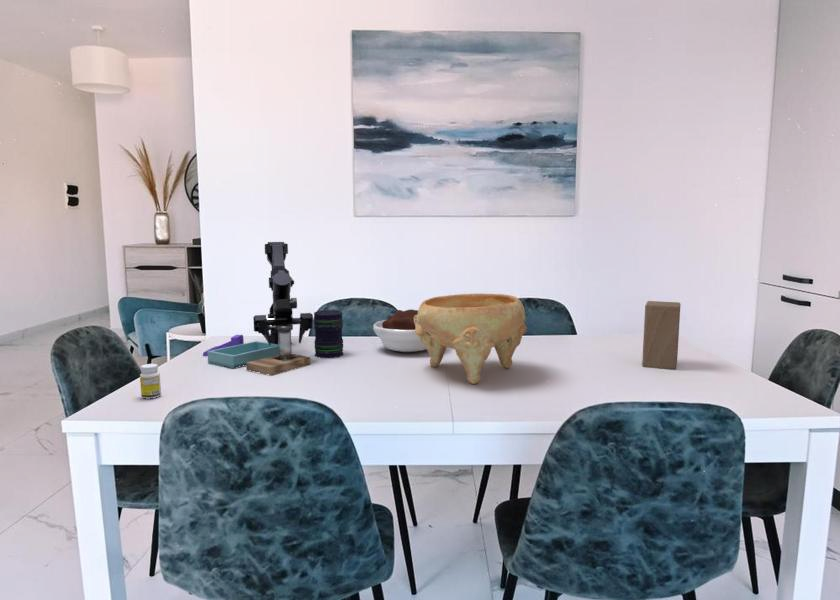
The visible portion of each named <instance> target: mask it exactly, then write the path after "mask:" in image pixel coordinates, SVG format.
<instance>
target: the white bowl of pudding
mask: <svg viewBox="0 0 840 600" xmlns="http://www.w3.org/2000/svg"><path fill="white" fill-rule="evenodd" d="M415 315H418V309H406V310H401V309H398V310H397V311H396V312H395V313H394V314H393V315H391V316H388V317H387V319H383V320H380V321H376V322H375V323H373V331H374V333H375V335H376V336H377V337H378V338H379V339H380V340H381V344H382V345H383V347H384V348H386V349H388V350H390V351H395V352H400V353H416V352H421V351H425V350H427V349H426V347H425V345H423V344H422V343H421V340H420V338H419V336H418V335H417V334H416V332H415V324H414V316H415Z"/></svg>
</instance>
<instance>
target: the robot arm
mask: <svg viewBox="0 0 840 600" xmlns="http://www.w3.org/2000/svg"><path fill="white" fill-rule="evenodd" d="M288 254H289V244H288V243H286V242H285V241H268V242H267V243H265V244H264V255H266V260H267V262H268V264H270V266H271V270H270V277H268V288H269V289H270V290H271V291H272V304H271V306H270V307H269V312H268V313H267V315H266V314H257V315H254V316H253V332H256V333H258V334H261V335H262V336H263V337H264V338H265V340H266V343H269V345H271V344H277V345H279V344H278V331H277V330H276V326H277V325H283V324H289V325H293V326H294V325H299V331H298V343H299V344H301V342H302V339H303V337H304V335H305V333H306V332H307V331H309V330H311V329H312V328H313V327H314V325H313V324H314V314H312V313H311V312H300V314H299V317H293V309H294V310H295V309H297V308H298V299H297V297H291V294H290V293H291V288H293V286H294V285H295V280H294V279H293V278H292V276H291V275H290V271H289V270H288V269H287V268H286V266H285V265H286V263H285V261H286V258H287V255H288ZM292 344H293V342H291V345H292Z"/></svg>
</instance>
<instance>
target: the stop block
mask: <svg viewBox="0 0 840 600" xmlns="http://www.w3.org/2000/svg"><path fill="white" fill-rule="evenodd" d="M306 365H307V366H310V365H311V356H308V355H307V356H306V355H300V354H296V353H295V354H294V353H292V359H291V360H287V361H282V360H279V355H275V356H271V357H267V358H263V359H259V360H255V361H250V362H246V366H245V367H246V368H245V369H246V371H247V370H251V371H250V372H252V371H255V372H254V373H256V372H260V373H259V374H261V373H264V374H263V375H266V374H269V375H268V376H270V375H271V376H273V375H272V374H274V375H277V374H276V373H278V374H281V373H280V372H282V373H284V372H283V371H285V372H288V371H287V370H289V371H291V369H292V370H295V368H296V369H299V367H300V368H303V367H307V366H306Z"/></svg>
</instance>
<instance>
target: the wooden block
mask: <svg viewBox="0 0 840 600" xmlns="http://www.w3.org/2000/svg"><path fill="white" fill-rule="evenodd" d="M681 305H682V304H681V303H680V302H676V301H659V300H648V301H646V303H645V305H644V323H643V343H642V361H641V362H642V363H641V365H642V367H643V368H650V369H651V368H652V369H662V370H663V369H664V370H672V371H673V370H674V371H675V370H677V368H678V355H679V354H678V353H679V337H680V336H679V335H680V323H681V322H680V321H681V319H680V318H681Z"/></svg>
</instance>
